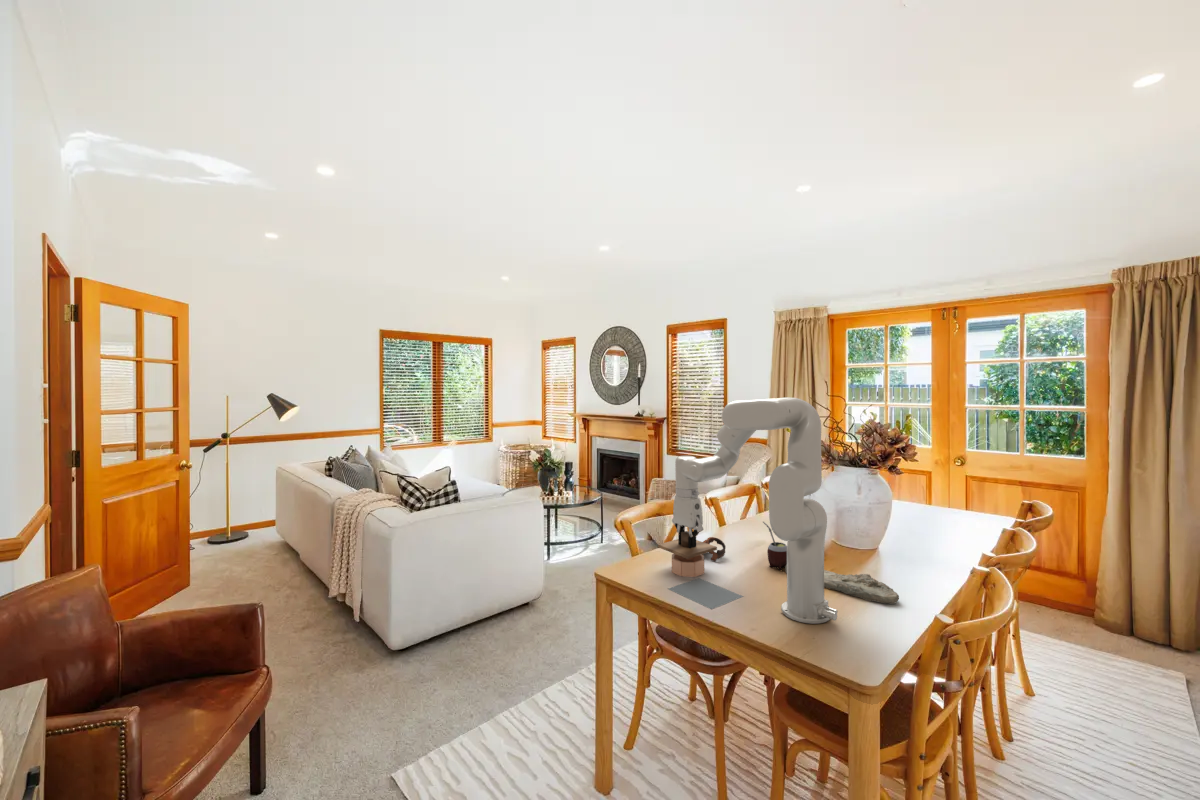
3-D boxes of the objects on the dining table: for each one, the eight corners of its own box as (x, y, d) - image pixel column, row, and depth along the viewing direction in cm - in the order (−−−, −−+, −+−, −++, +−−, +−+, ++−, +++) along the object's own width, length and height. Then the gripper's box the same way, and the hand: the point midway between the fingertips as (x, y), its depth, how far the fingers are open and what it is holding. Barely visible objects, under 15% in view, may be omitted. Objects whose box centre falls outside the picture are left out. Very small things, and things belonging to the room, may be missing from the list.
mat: (743, 597, 148) (743, 596, 148) (711, 610, 140) (711, 609, 140) (699, 579, 162) (699, 577, 162) (667, 590, 154) (667, 588, 154)
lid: (716, 549, 168) (716, 533, 167) (687, 558, 159) (687, 542, 159) (687, 539, 179) (686, 524, 179) (658, 547, 171) (657, 531, 171)
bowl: (710, 572, 168) (710, 557, 168) (688, 580, 162) (687, 565, 162) (687, 563, 177) (687, 549, 177) (665, 570, 171) (665, 556, 170)
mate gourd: (791, 571, 168) (791, 527, 167) (767, 570, 168) (767, 527, 168) (785, 563, 175) (785, 521, 175) (762, 563, 176) (762, 521, 176)
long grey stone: (795, 571, 172) (778, 580, 166) (793, 556, 172) (777, 564, 166) (905, 598, 144) (891, 610, 138) (904, 580, 144) (889, 591, 138)
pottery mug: (717, 552, 189) (725, 537, 185) (721, 572, 181) (730, 556, 177) (687, 546, 188) (694, 530, 184) (690, 565, 180) (698, 548, 176)
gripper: (713, 495, 164) (713, 549, 165) (677, 487, 178) (678, 537, 178) (697, 498, 160) (697, 554, 160) (661, 489, 173) (662, 541, 174)
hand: (687, 545), depth 169 cm, fingers closed on lid, 4 cm apart
